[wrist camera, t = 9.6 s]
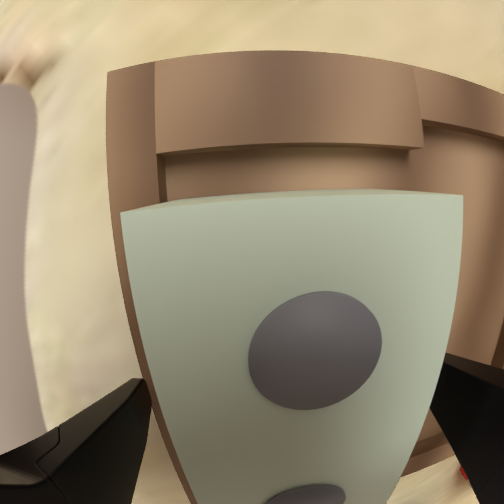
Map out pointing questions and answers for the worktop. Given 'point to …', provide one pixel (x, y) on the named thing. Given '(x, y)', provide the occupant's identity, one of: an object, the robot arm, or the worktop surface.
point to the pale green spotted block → (295, 335)
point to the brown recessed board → (316, 162)
